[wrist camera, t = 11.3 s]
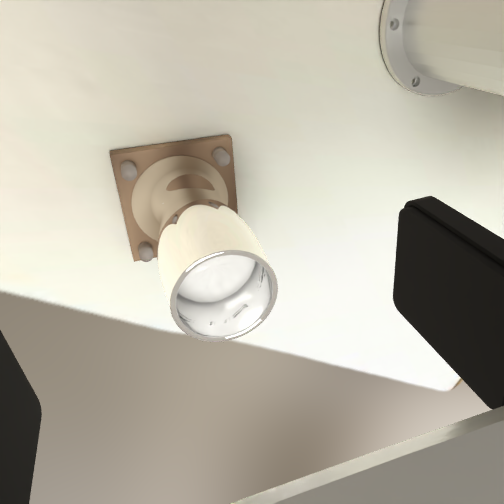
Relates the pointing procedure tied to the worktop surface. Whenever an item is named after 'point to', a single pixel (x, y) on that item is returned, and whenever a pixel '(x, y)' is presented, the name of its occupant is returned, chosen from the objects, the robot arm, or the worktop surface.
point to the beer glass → (209, 260)
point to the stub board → (153, 169)
